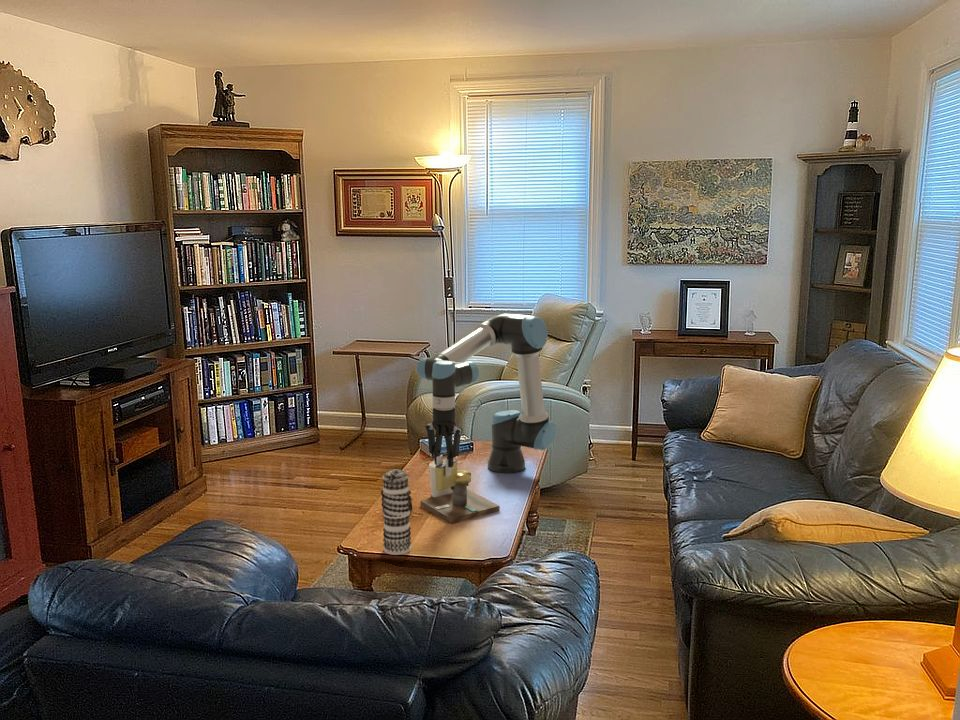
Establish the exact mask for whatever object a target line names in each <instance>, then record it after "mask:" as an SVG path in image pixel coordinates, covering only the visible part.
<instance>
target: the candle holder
mask: <svg viewBox="0 0 960 720" xmlns="http://www.w3.org/2000/svg"><path fill="white" fill-rule="evenodd" d="M444 462H445V459H443V463H444ZM435 466H437V465H435V460H433V461H431V462H429V464H428V467H429V479H430V480H429V481H430V482H429V483H430V495H431V498H434V497H438V496H442V495H446V494H451V493H452V490H451V488H448V489H446V490H444V491H438V490H436V469H435Z"/></svg>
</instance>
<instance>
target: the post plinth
mask: <svg viewBox="0 0 960 720" xmlns="http://www.w3.org/2000/svg"><path fill="white" fill-rule="evenodd" d="M469 484H470V483H467V484H462V485H454V486H452V487H450V488H451V490H452V493H451V494H446V495H442V496H438V497H431V498H427V499H422V500H420V507H421V508H424V509H425V510H426V511H428V512H430V513H431V514H433V515H435V516H437V517H438V518H440V519H441V520H444V521H445V522H446V523H448V524H450V525H453V524H457V523H461V522H464V521H468V520H473V519H476V518H479V517H483V516H487V515H491V514H494V513H498V512H500V510H501V509H500V508H501V507H500V505H499V504H498V503H495V502H493V501H492V500H489V499H487V498H485V497H483V496H482V495H480V494H478V493H476V492H474V491H472V490H470V489H468V487H469V486H470V485H469Z"/></svg>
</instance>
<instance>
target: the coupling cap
mask: <svg viewBox="0 0 960 720" xmlns="http://www.w3.org/2000/svg"><path fill="white" fill-rule="evenodd" d="M435 469H436V490H438V491H444V490H446V489H448V488H450V487H452V486H454V485H462V484H467V483H468V484H470V483H471V482H472V473H471V472H470V471H469V470H465V469H464V470H463V469H458V460H456V459H453V467H451V475H450V476H449V477H445V462H444V463H442V464H439V465H437V466H435Z"/></svg>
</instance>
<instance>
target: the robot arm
mask: <svg viewBox="0 0 960 720" xmlns="http://www.w3.org/2000/svg"><path fill="white" fill-rule="evenodd" d="M548 337H549V336H548V328H547V325H546V323H545V321H544V320H543V319H542V318H541V317H539V316H535V315H532V314H527V315H526V314H518V313H517V314H516V313H515V314H513V313H501V314H497V315H493V316H492V317H490V318H487V319H485V320H484V321H482V322H480V323H479V324H477V325H476V327H475V328H474V330H473V331H471V332H470V333H468V334H467V335H465V336H464V337H462V338H461V339H460V340H458V341H456V342H455V343H453V344H452V345H450V346H449V347H446V349H444V350H443V351H441V352H440V353H438V354H436V355H435V356H433V357H422V358H420V359H419V360H418V362H417V364H416V369H415V370H416V373H417V376H418V377H419V378H421V379H423V380H427V381H432V407H433V408H432V419H433V420H432V421H431V422H430V423H427V424H426V425H425V429H426V432H427V440H428V441H427V443H428V451H429V454H431V455H434V461H435V465H439V464H442V463H443V460H445V477H449V476H450V475H451V467H453V460H454V459H455V458H456V457H458V456H459V454H460V446H461V435H462V433H463V428H462V427H461V428H459V427H458V426H457V424H456V423H455V421H456V409H455V407H456V388H459V387H462V386H465V385H470V384H471V383H474V382H476V381H477V380H478V378H479V374H480V371H479V367H478V365H477V364H476V363H475V362H474V361H471V360H470V361H467V360H469V359H471V358H472V357H473V356H475V355H477V354H478V353H480V351H481V352H482V350H484V349H486V348H491V347H494V345H499V344H500V345H509V346H511V348H510V349H511V353H512V354H513V355H515V356H516V365H517V367H516V368H517V376H518V385H519V395H520V402H521V403H520V404H521V411H520V410H516V409H510V410H509V409H508V410H503V411H502V410H501V411H497V412H495V413H494V414H493V415H492V420H491V451H490V454H489V458H488V461H487V468H488V469H489V470H490V471H493V472H496V473H504V474H509V473H510V474H512V473H518V472H521V471H524V470H525V468H526V460H525V456H524V454H523V451H522V447H524V448H529V449H534V450H536V451H537V450H540V451H545V450H547V449H549V448H550V447H551V446H552V444H553V442H554V440H555V438H556V435H557V434H556V433H557V427H556V423H555V422H553V421H551V420H550V417H549V413H548V412H547V411H546V410H545V405H544V393H543V385H542V373H541V364H540V363H541V362H540V353H541V352H542V351H543V347H544V346H545V345H546V344H547V341H548V340H547V339H548ZM453 434H454V435H453ZM443 438H444V440H445V448H446V455H447V456H446V457H445V459H444V458H443V457H444V456H443V454H442V444H443Z"/></svg>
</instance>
